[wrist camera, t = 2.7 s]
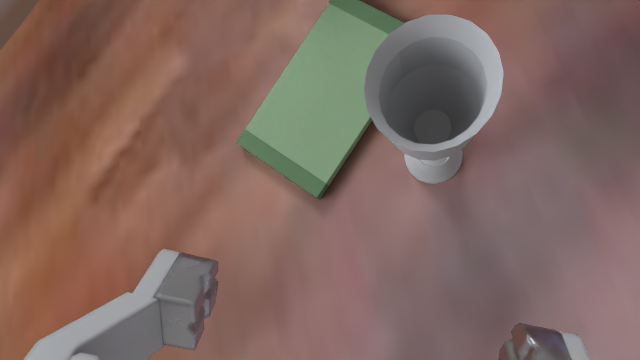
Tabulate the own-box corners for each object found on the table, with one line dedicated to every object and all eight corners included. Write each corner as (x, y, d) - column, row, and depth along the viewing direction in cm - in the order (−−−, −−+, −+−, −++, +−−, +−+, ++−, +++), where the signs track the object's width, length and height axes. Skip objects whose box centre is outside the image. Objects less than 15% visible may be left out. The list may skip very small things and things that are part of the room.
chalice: (406, 109, 41) (385, 5, 24) (482, 125, 39) (519, 24, 22) (385, 185, 40) (347, 135, 23) (461, 204, 38) (482, 166, 21)
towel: (339, -4, 44) (337, -12, 43) (426, 39, 41) (426, 33, 40) (241, 145, 44) (235, 142, 43) (320, 199, 42) (316, 198, 40)
